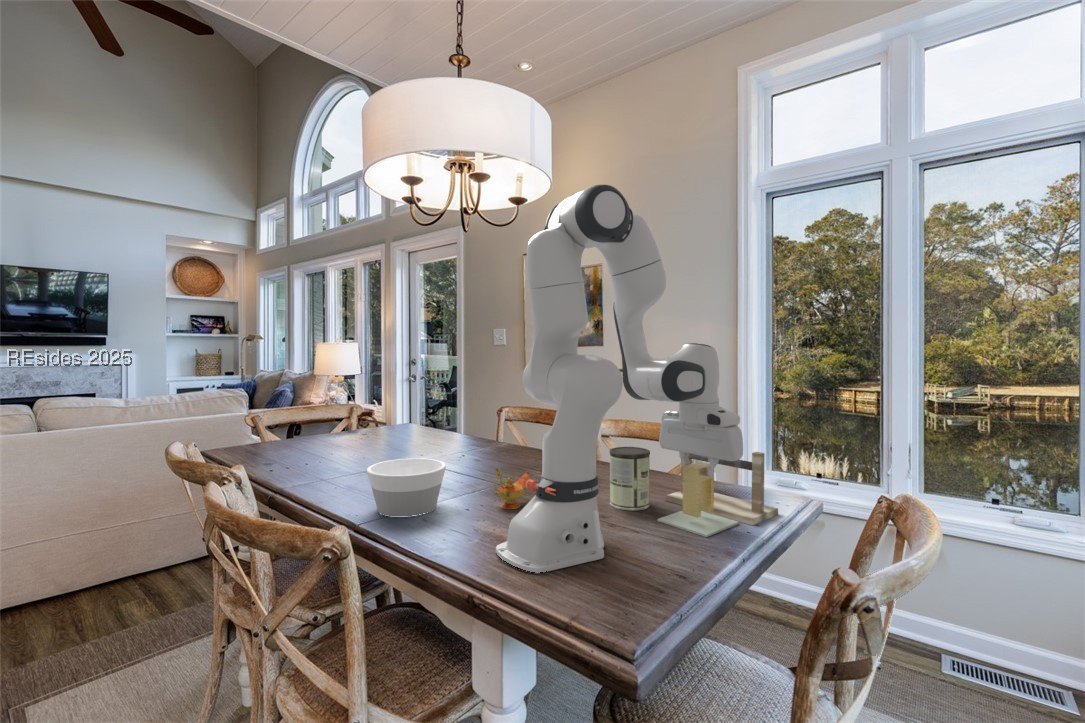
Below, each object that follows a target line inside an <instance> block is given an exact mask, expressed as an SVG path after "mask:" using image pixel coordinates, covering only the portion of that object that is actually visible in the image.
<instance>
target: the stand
mask: <svg viewBox="0 0 1085 723" xmlns="http://www.w3.org/2000/svg"><path fill="white" fill-rule="evenodd" d="M751 454H752V455H751V461H748V460H742V459H739V460H736V461H727V460H722V459H719V462H718V463H717V465H722V466H727V467H731V468H737V469H741V470H747V471H751V500H745V499H742V498H737V497H734V496H733V497H732V496H729V495H725V494H721V493H718V492H714V512H712V513H710V514H714V515H717V516H721V517H724V518H728V519H731V520H735V521H738V522H739V523H743V524H746V525H750V526H755V525H758V524H760V523H762V522H765V521H766V520H769V519H771V518H774V517H775V516H778V515H779V508H778V507H774V506H770V505H766V504H765V455H766V454H765V452H760V451H753V452H751ZM688 459H689V461H690V463H691V464H692V459H695V460H701V461H703V462H705V463H709V462H708V457H706V456H701V455H695V454H690V453H689V456H688ZM683 466H684V464H683V463H682V461H681V463H680V484H681V486H680V490H678V491H676V492H672V493H670V494H666V495H665V501H667V502H670V503H673V504H677V505H681V506H683ZM701 511H702V510H701ZM703 512H705V511H703ZM707 513H709V512H707Z"/></svg>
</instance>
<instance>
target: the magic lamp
mask: <svg viewBox="0 0 1085 723" xmlns="http://www.w3.org/2000/svg"><path fill="white" fill-rule="evenodd" d="M495 472H496V475H497V477H496V478H495V481H494V489H495V491H496V493H497V495H498V497H500V498H499V501H500V502H503V501H505V500H506V501H505V502H504V503H502V504H501V505H500V507H501V508H502V509H507V510H514V509H519V508H520V507H521V504H520V503H518V502H517V501H516V500H518V499H520V498H521V497H523V495H524V494H525V489H526V482H527V480H529V479H530V478H531V474H532V473H533V471H528V470H527V471H525V473H524V474H523V475H521V476H520V478H519V479H518V480H517V481H515V482H512V480H511V478H510V477H507V479H506V480H505V481H504V483H503V470H502V469H501V468H495ZM498 479H500V480H499V482H500V487H499V488H497V486H496V485H497V481H498Z"/></svg>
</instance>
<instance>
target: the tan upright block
mask: <svg viewBox="0 0 1085 723" xmlns="http://www.w3.org/2000/svg"><path fill="white" fill-rule="evenodd" d="M709 464H710V463H708V462H703V463H702V462H697V463H693V464H689V465H684V466H683V505H682V511H683V514H687V515H690V516H693V517H697V518H699V517H701V510H702V511H703V512H704V511H705V512H709V513H710V514H711V513H712V512H714V493H715V474H714V475H713V476H712V477H708V476H704V468H707V467H708V466H709Z"/></svg>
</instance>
